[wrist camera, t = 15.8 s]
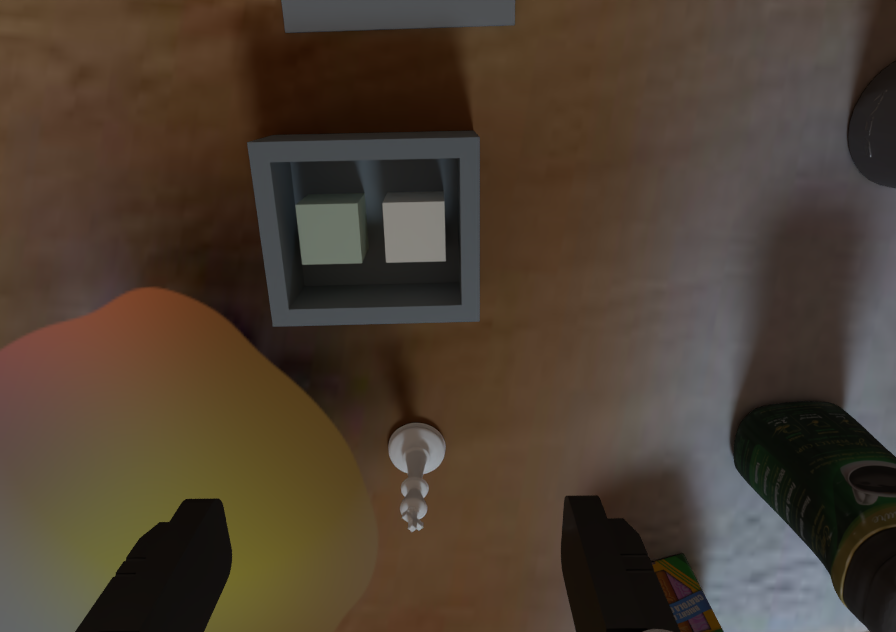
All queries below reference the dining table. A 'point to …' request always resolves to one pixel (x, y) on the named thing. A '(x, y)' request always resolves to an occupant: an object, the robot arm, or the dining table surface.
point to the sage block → (332, 228)
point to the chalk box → (685, 595)
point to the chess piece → (415, 466)
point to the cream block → (414, 226)
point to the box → (369, 226)
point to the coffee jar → (829, 496)
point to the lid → (393, 14)
